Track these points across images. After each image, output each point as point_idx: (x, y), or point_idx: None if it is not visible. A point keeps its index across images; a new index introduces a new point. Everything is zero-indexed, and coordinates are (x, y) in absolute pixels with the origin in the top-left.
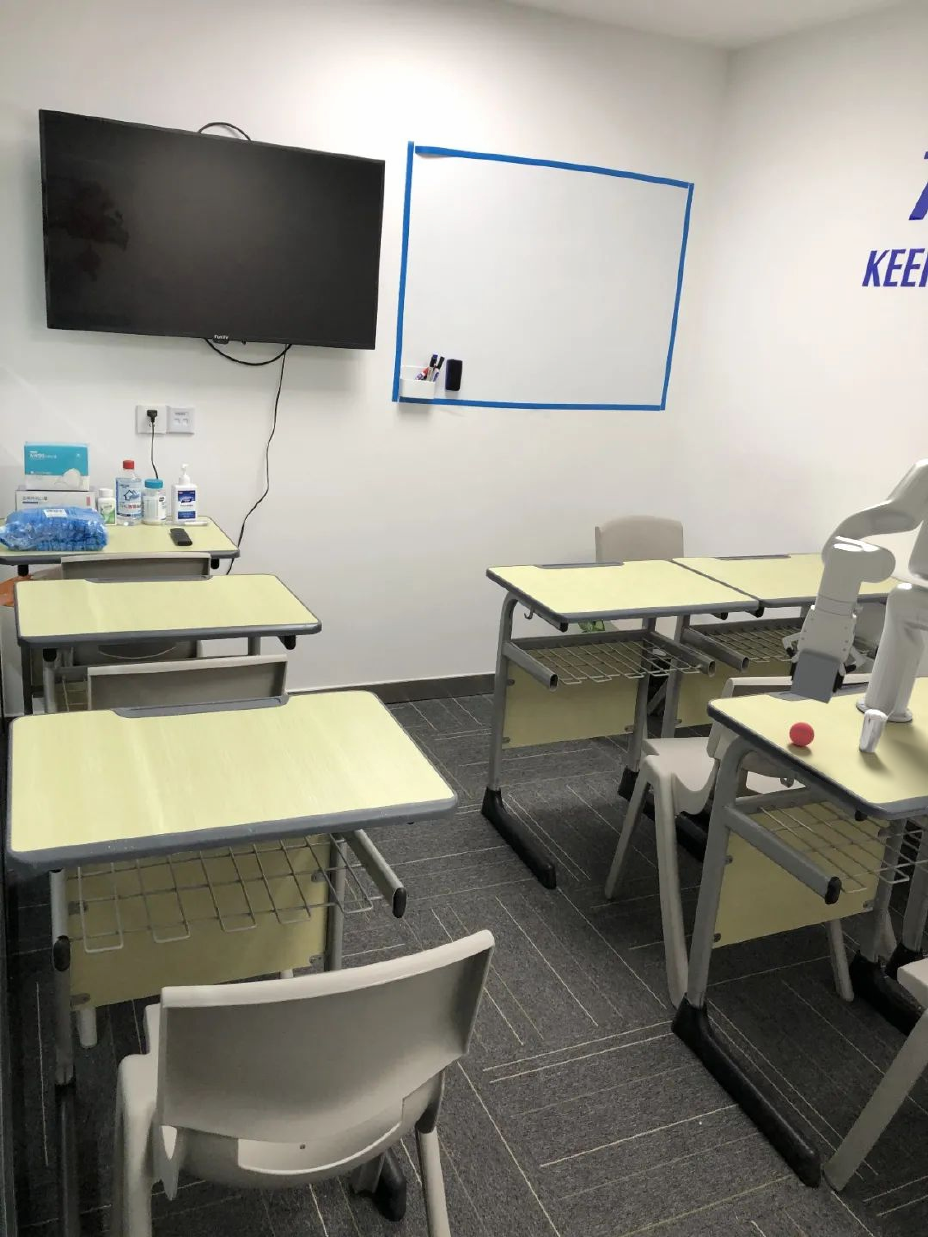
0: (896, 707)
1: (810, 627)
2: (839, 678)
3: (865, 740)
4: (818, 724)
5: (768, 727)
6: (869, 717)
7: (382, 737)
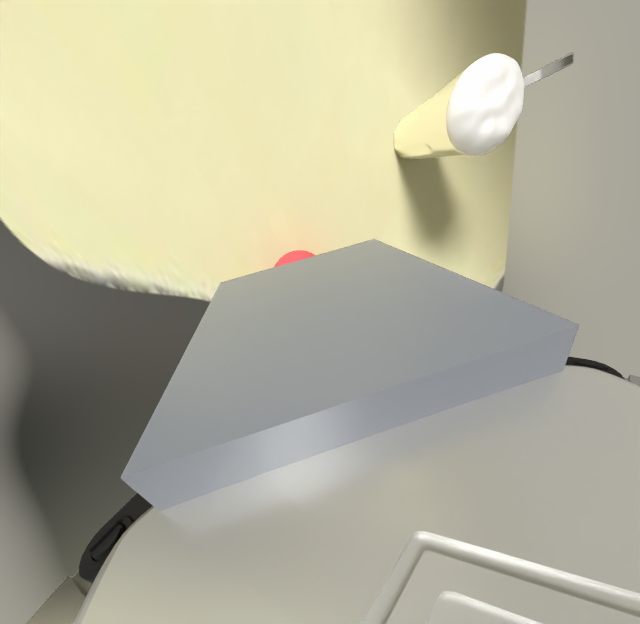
0: None
1: None
2: None
3: (421, 156)
4: (256, 55)
5: (202, 245)
6: (465, 154)
7: None
